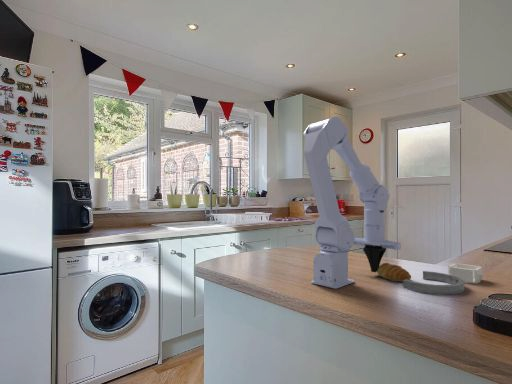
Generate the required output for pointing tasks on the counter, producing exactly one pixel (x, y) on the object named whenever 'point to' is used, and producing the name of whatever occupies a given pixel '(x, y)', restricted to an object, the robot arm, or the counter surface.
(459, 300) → the counter surface
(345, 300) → the counter surface
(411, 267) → the counter surface
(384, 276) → the pastry
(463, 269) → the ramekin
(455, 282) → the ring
